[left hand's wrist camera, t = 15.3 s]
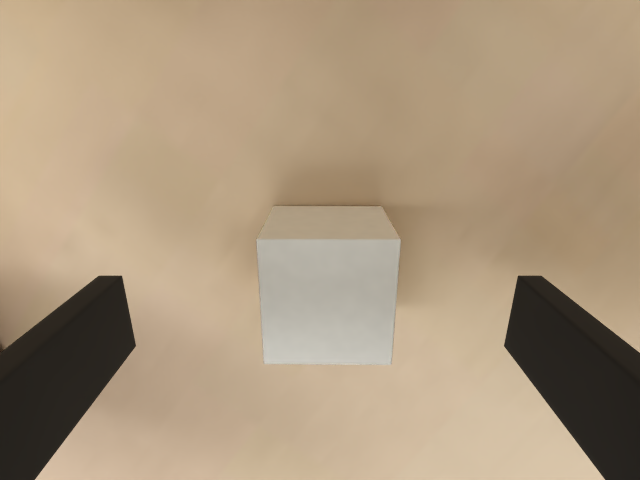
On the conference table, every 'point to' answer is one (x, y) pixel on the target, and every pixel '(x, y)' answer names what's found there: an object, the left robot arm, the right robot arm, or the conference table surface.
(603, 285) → the conference table surface
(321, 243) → the block
